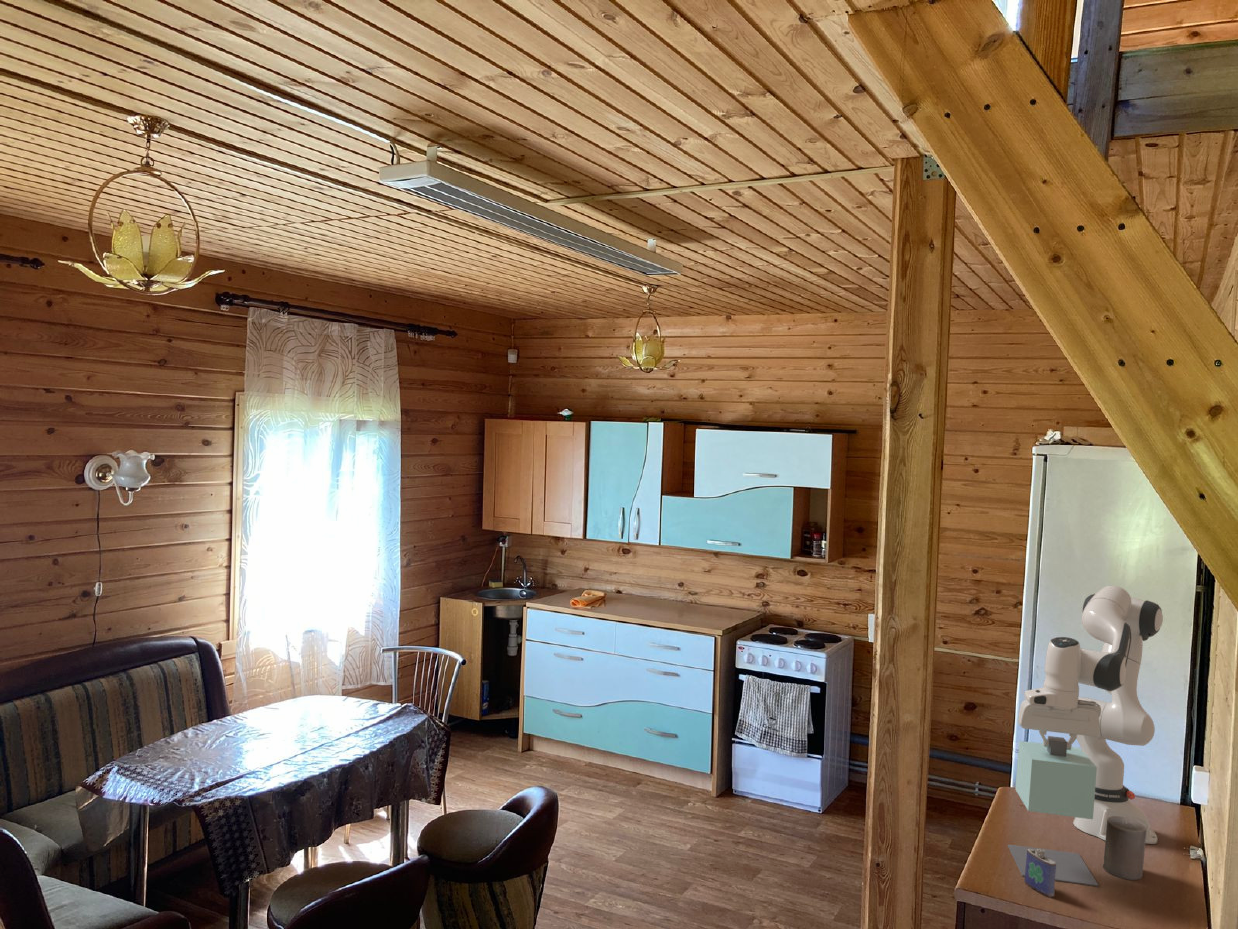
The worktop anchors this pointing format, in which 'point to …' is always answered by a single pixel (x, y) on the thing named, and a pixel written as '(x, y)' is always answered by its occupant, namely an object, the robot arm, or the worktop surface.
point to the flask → (1040, 872)
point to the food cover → (1056, 779)
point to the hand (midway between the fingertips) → (1056, 748)
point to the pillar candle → (1124, 847)
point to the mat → (1058, 865)
